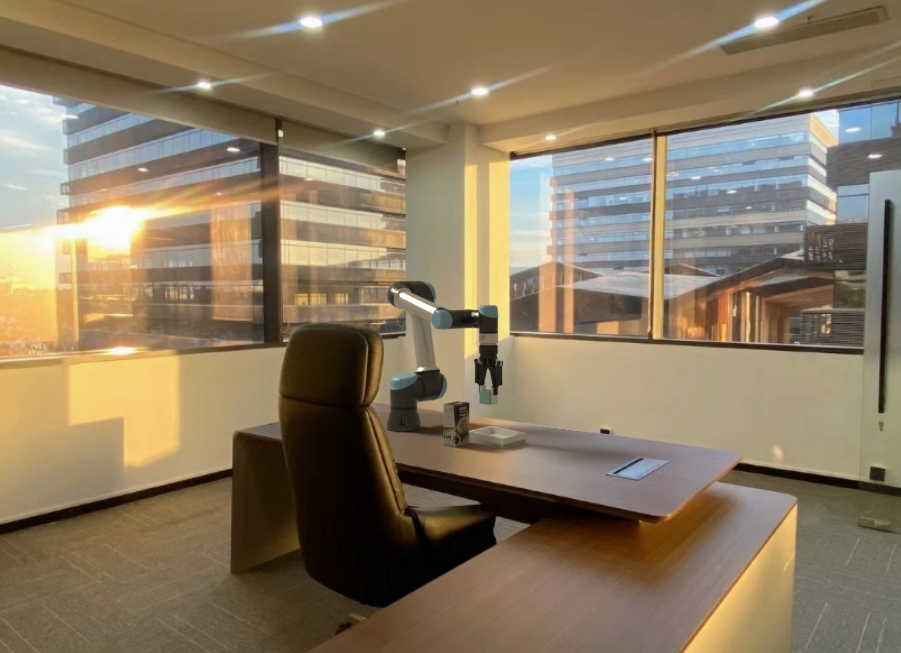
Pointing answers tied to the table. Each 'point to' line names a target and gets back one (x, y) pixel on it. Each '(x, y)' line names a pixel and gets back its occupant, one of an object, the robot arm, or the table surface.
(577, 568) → the table surface
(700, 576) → the table surface
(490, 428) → the tote
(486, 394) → the teal cube
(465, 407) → the coffee box
